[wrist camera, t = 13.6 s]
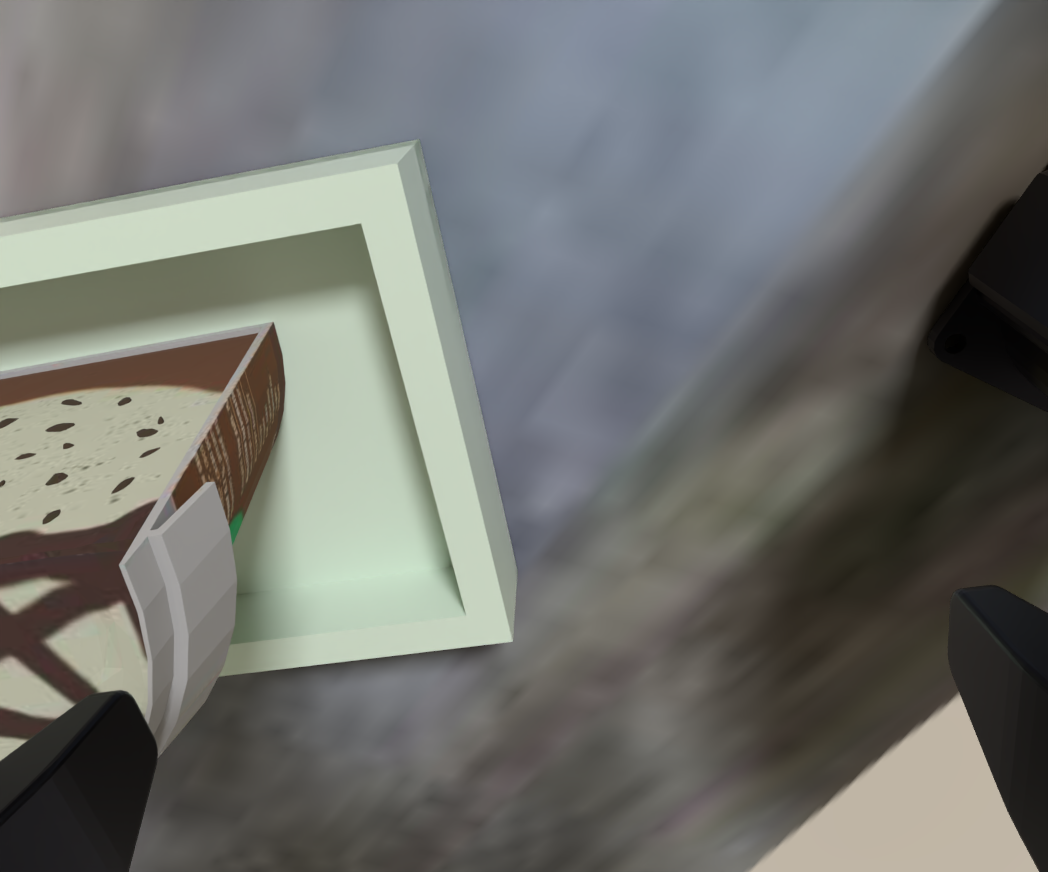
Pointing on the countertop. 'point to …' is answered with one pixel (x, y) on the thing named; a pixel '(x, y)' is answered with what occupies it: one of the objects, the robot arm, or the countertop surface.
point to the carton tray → (304, 389)
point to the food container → (128, 522)
